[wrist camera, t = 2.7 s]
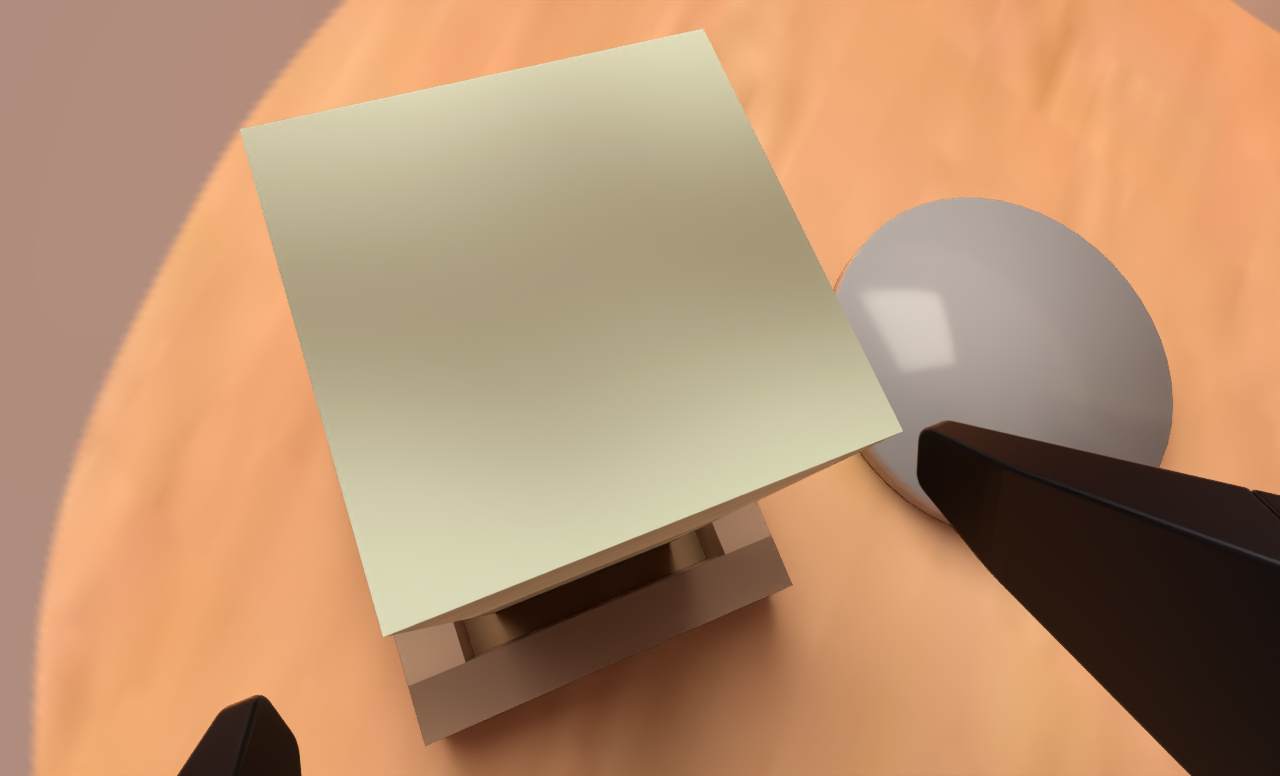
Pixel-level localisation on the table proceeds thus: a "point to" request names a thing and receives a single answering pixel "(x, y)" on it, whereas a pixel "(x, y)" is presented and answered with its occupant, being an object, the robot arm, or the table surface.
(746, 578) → the pocket block
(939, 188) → the table surface
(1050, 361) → the coaster
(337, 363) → the tall khaki square post
